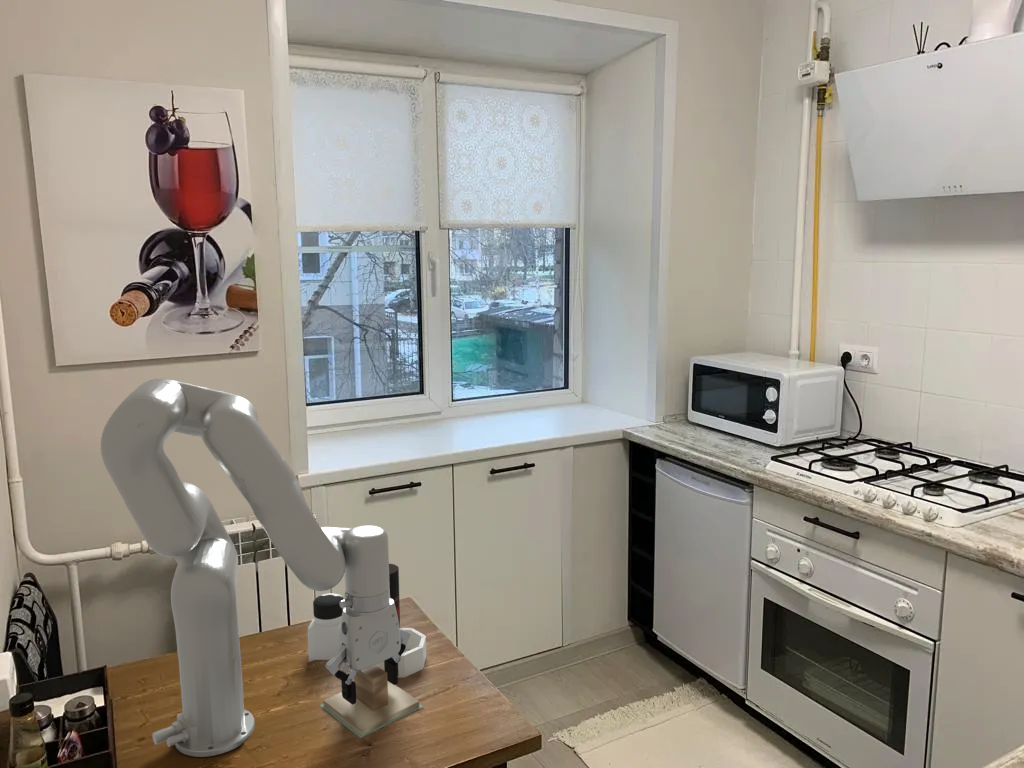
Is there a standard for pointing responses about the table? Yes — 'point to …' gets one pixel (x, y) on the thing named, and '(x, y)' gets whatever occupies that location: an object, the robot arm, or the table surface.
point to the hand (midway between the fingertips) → (371, 690)
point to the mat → (373, 729)
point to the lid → (371, 701)
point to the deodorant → (394, 587)
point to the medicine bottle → (325, 627)
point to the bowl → (411, 654)
